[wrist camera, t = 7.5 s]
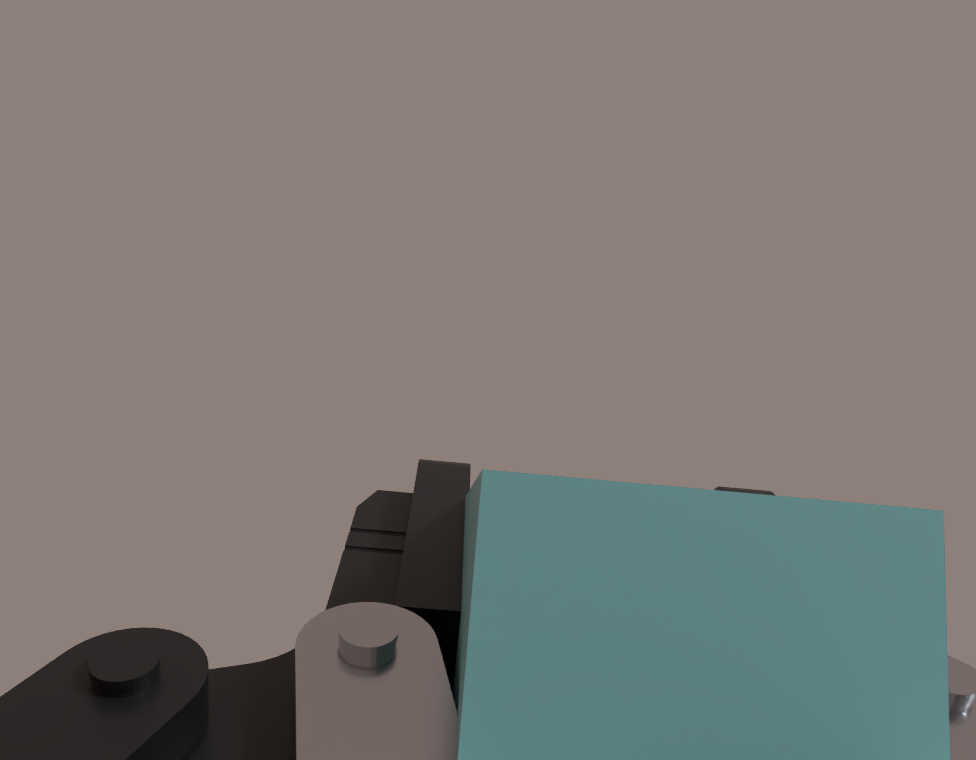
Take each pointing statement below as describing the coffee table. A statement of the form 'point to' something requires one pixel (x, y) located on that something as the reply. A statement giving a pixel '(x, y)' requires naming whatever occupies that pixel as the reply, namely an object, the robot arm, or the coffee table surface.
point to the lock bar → (697, 625)
